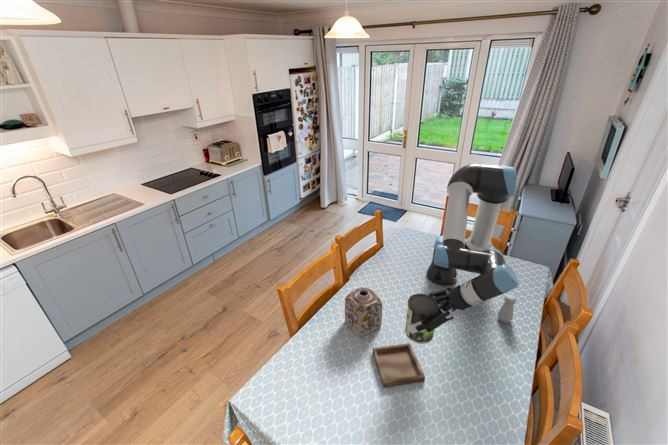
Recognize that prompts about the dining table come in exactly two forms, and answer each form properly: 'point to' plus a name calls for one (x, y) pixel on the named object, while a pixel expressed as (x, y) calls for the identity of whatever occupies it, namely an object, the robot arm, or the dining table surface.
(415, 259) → the dining table surface
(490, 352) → the dining table surface
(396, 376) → the holder tray
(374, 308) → the decorative jar
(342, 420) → the dining table surface
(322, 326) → the dining table surface
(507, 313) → the salt shaker
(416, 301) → the coffee can
